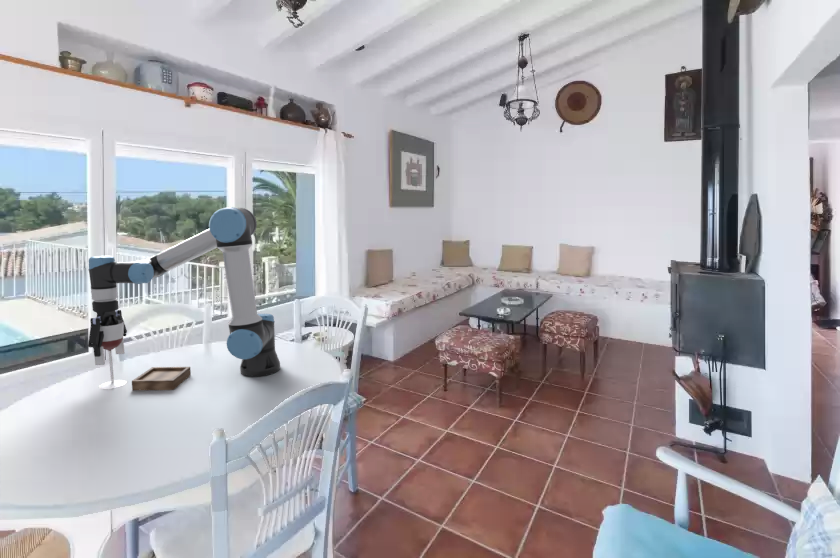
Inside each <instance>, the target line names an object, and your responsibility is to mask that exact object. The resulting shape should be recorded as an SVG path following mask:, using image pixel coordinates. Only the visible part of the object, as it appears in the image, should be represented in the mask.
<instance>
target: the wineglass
mask: <svg viewBox="0 0 840 558" xmlns="http://www.w3.org/2000/svg"><path fill="white" fill-rule="evenodd" d="M123 321H124V320H123ZM123 321H121V320H118V324H117V325H112V326H101V325H100V331H103V332H104V338H103V342H102V345H101V346H103V349H104V351H105V350H106V351H107V352H108V362H109V372H110V374H109V375H110V381H106V382H103V383H100V384H99V385H98V388H99V389H100V390H111V389H115V388H119V387H122V386H125V385H126V384H127V383H128V380H124V379H115V376H114V375H115V374H114V368H113V366H114V365H113V355H112V350H115V348H116V347H117V346H119V345H120V344H121V342H122V339H123V340H124V336H123V333H124V324H125V322H124V323H123Z"/></svg>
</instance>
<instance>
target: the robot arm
mask: <svg viewBox="0 0 840 558" xmlns="http://www.w3.org/2000/svg"><path fill="white" fill-rule="evenodd" d="M257 225H258V223H257V219H256V216H255V215H254V213H253V212H252V211H250V210H248V209H247V208H244V207H234V206H232V207H231V206H230V207H229V206H228V207H223V208H220V209H218V210H216V211H215V212H214V213H213V214H212V215H211V216H210V219H209V223H208V227H209V228H208V229H205V230H203V231H202V232H200V233H197V234H196V235H194V236H192V237H189V238H187V239H185V240H183V241H181V242H179V243H177V244H175V245H173V246H171V247H168V248H167V249H164V250H162V251H161V252H158V253H156V254H154V255H152V256H150V257H148V258H144V259H141V260H140V259H139V260H136V261H135V260H134V261H124V262H123V261H118V262H117V261H116V260H115V257H114V256H113V255H94V256H90V257H89V258H88V270H87V271H88V273H89V274H88V275H89V282H90V283H89V284H90V293H91V300H92V302H91V307H92V311H93V312H95V314H96V317H90V319H89V320H90V328H89V329H90V330H89V336H88V343H87V347H88V348H92V349H93V357H94V364H95V366H105V365H106V361H105V360H106V359H105V349H103V346H101V345H102V342H103V338H104V332H103V331H100V325H101V326H112V325H117V324H118V320H121V321H123V323H124V333H123V337H126V336H127V333H128V330H127V328H126V324H125V321H124V319H123V316H122V315H123V314H122V313H123V312H122V310H121V309H119V308H120V307H119V305H120V304H119V299H118V297H119V295H118V294H119V293H118V285H117V284H136V285H141V284H149V283H150V282H151V281H152V280H153V279H154V278H155V279H156V278H159V277H162V276H163V275H165V274H166V273H168V272H169V271H172V270H173V269H176V268H178V267H180V266H182V265H184V264H186V263H188V262H191V261H192V260H194V259H196V258H199V257H201V256H203V255H204V254H206V253H209V252H211V251H213V250H216V248H217V249H218V250H219V251H221V252H222V256H223V265H224V272H225V276H226V285H227V289H228V290H227V292H228V297H229V298H228V299H229V305H230V312H231V319H230V320H229V322H228V323H227V324H228V330H229V335H228V336H227V339H226V348H227V351H228V352H229V354H231V356H233V357H234V358H236V359H240V360H241V363H240V366H239V369H240V371H239V372H240V373H241V375H243V376H246V377H265V376H268V375H269V376H270V375H272V374H276V373H277V372H279V371H280V370H281V362H280V360H279V357H278V354H277V351H276V341H275V340H276V337H275V336H276V335H275V332H276V331H275V317H274V314H271V313H258V310H257V304H256V303H257V301H256V296H255V287H254V280H253V273H252V267H251V265H252V264H251V258H250V250H249V249H250V248H251V247H252V246H253V241H252V240H253V239H252V238H253V237H252V236H253V235H254V233H255V232H256V230H257ZM124 343H125V340H124V338H123V339H122V342H121V344H120V345H119V346H117V347H116V348H114V351H115V355H124V354H125V344H124Z"/></svg>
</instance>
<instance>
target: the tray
mask: <svg viewBox="0 0 840 558" xmlns="http://www.w3.org/2000/svg"><path fill="white" fill-rule="evenodd" d="M191 373H192V371H191V366H152V367H150V368H149V369H147V370H146V371H144V372H142V374H140V375H138V376H137V377H136V378H134V379H133V380H131V388H132V389H131V391H174V390H176V389H177V388H178V387H179V386H180V385H181V384H183V383H184V382H185V381H187V379H189V378H190V377H191V376H192V374H191Z"/></svg>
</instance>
